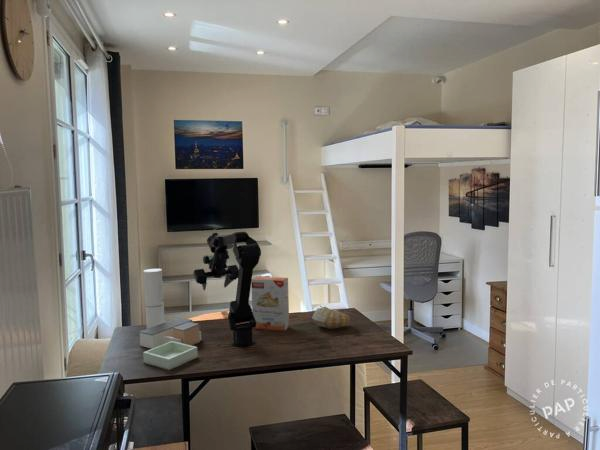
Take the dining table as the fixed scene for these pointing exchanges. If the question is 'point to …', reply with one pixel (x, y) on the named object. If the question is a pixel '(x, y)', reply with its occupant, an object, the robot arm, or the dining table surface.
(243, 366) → the dining table surface
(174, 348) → the tray
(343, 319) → the nautilus
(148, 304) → the cylindrical container
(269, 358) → the dining table surface
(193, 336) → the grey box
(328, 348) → the dining table surface
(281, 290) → the cracker box
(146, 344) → the grey forked piece
